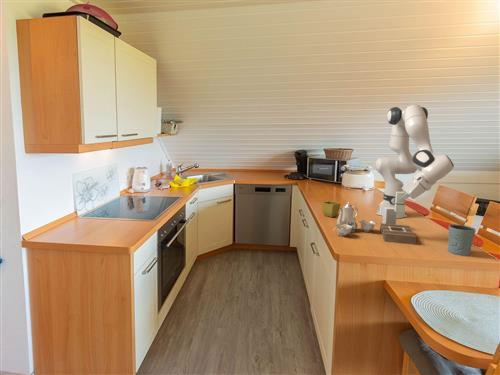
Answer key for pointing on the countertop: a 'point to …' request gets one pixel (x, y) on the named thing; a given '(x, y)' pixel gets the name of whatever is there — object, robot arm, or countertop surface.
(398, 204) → the sage peg
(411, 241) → the socket board
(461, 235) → the blue-grey embossed planter
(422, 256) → the countertop surface
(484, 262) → the countertop surface
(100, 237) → the countertop surface
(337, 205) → the flower pot
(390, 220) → the skincare box
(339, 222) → the chinaware
